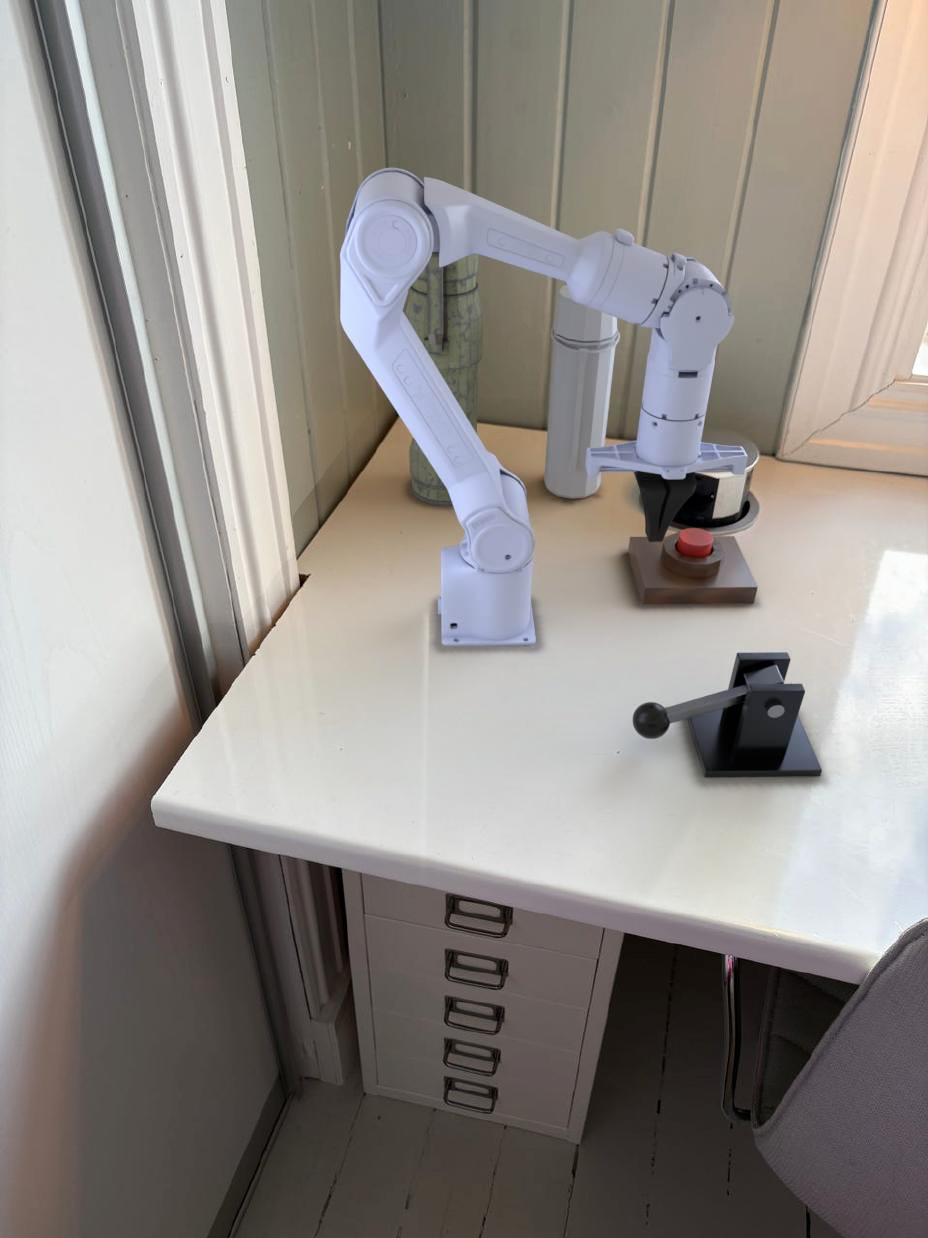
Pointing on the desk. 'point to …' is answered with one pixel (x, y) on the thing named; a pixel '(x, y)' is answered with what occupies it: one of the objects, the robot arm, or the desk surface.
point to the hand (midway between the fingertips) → (653, 536)
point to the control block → (691, 573)
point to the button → (694, 543)
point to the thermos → (447, 349)
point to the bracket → (756, 728)
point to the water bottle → (578, 394)
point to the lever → (697, 704)
